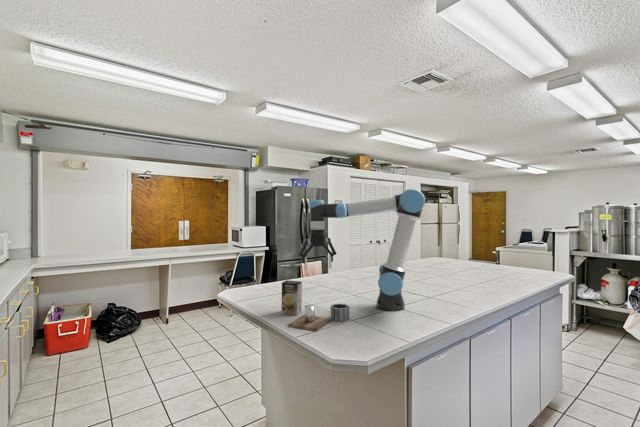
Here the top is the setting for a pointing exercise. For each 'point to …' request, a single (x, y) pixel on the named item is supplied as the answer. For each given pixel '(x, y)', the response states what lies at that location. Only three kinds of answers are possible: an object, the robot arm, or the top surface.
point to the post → (309, 314)
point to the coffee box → (291, 297)
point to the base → (309, 326)
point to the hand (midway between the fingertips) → (317, 268)
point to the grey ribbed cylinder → (340, 312)
